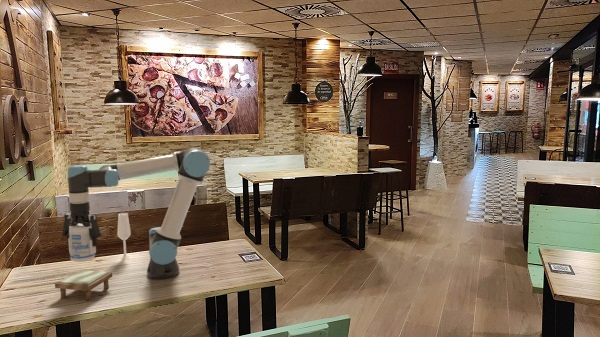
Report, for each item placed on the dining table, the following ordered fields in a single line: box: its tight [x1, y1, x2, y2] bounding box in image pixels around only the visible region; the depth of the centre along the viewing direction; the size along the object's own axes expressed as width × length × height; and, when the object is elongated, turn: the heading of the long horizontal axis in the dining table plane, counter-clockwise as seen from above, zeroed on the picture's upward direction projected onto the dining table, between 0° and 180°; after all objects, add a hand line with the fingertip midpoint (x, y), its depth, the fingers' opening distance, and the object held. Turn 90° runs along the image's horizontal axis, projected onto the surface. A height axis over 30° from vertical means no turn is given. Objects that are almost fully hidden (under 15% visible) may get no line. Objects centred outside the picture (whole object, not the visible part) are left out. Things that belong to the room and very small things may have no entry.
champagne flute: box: [117, 212, 133, 260], centre depth 235 cm, size 7×7×24 cm
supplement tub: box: [69, 223, 96, 263], centre depth 187 cm, size 10×10×15 cm
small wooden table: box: [54, 269, 113, 302], centre depth 190 cm, size 16×16×7 cm
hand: (82, 252), depth 188 cm, fingers closed on supplement tub, 9 cm apart
